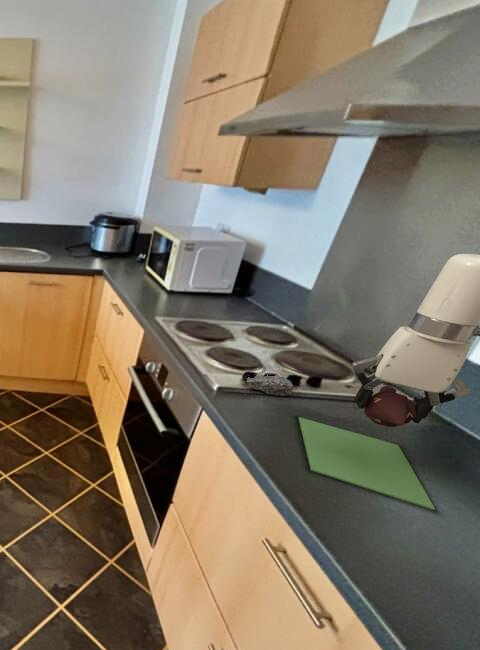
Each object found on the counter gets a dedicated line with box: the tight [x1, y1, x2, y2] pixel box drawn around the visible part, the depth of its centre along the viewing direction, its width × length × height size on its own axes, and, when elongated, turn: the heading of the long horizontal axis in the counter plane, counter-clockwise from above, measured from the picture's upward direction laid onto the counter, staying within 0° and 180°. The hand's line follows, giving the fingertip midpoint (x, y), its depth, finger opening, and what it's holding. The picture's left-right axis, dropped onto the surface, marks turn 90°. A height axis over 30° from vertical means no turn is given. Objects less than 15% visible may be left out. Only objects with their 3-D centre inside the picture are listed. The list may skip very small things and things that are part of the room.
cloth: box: [298, 416, 436, 511], centre depth 85 cm, size 18×22×1 cm
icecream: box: [364, 385, 416, 428], centre depth 79 cm, size 7×7×15 cm
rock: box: [245, 373, 294, 397], centre depth 109 cm, size 8×10×4 cm
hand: (385, 411), depth 80 cm, fingers closed on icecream, 7 cm apart
